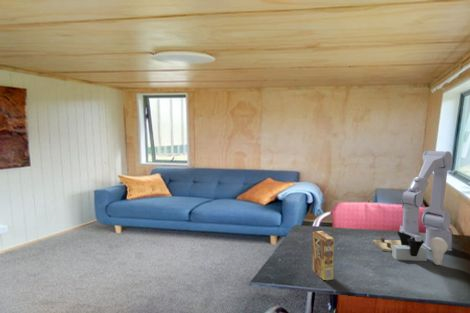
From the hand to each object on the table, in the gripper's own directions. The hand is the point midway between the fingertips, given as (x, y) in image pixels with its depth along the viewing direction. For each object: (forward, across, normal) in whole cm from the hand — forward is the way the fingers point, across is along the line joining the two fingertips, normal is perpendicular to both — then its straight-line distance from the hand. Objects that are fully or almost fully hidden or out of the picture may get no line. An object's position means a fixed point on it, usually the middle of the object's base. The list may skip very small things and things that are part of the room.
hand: (409, 252), depth 130 cm
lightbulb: (+3, +6, +8) cm, 10 cm away
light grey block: (+3, 0, 0) cm, 3 cm away
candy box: (+3, +18, -39) cm, 43 cm away
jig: (+2, -13, 0) cm, 13 cm away
